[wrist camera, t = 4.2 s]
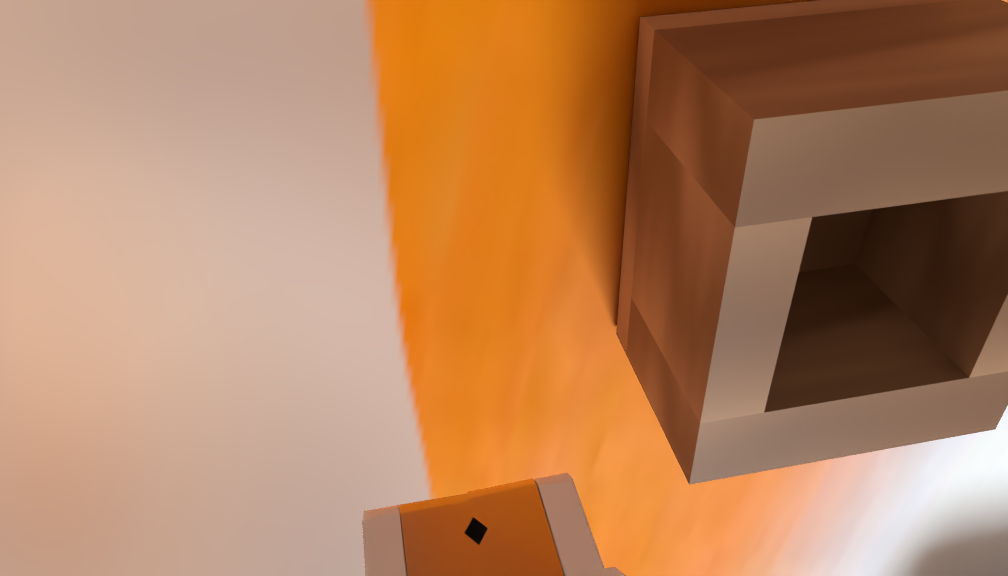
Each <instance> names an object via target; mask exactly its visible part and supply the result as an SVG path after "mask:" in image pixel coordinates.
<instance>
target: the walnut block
mask: <svg viewBox="0 0 1008 576" xmlns="http://www.w3.org/2000/svg"><path fill="white" fill-rule="evenodd" d="M616 334H617V336H618V338H619V340H620V343H621V345H622V347H623V349H624V351H625V353H626V355H627V357H628V359H629V361H630V363H631V365H632V367H633V369H634V371H635V373H636V376H637V378H638V380H639V382H640V384H641V386H642V388H643V390H644V392H645V394H646V396H647V398H648V400H649V402H650V404H651V406H652V409H653V411H654V413H655V415H656V417H657V419H658V421H659V423H660V425H661V427H662V429H663V431H664V433H665V435H666V437H667V439H668V441H669V444H670V446H671V448H672V450H673V452H674V454H675V456H676V458H677V460H678V462H679V464H680V466H681V468H682V470H683V472H684V474H685V477H686V479H687V481H688V483H689V484H695V483H700V482H706V481H711V480H717V479H722V478H728V477H733V476H739V475H745V474H750V473H756V472H761V471H767V470H772V469H778V468H783V467H789V466H794V465H800V464H805V463H811V462H816V461H822V460H828V459H833V458H839V457H844V456H850V455H855V454H861V453H866V452H872V451H877V450H883V449H888V448H894V447H900V446H905V445H911V444H916V443H922V442H927V441H933V440H938V439H944V438H949V437H955V436H960V435H966V434H972V433H977V432H983V431H988V430H994V429H996V427H997V425H998V423H999V421H1000V419H1001V417H1002V415H1003V413H1004V411H1005V409H1006V407H1007V405H1008V3H1007V2H1004V1H1002V0H817V1H806V2H795V3H785V4H774V5H763V6H753V7H742V8H731V9H721V10H710V11H699V12H689V13H678V14H667V15H657V16H646V17H640V23H639V36H638V50H637V63H636V77H635V90H634V104H633V117H632V131H631V144H630V157H629V171H628V184H627V198H626V211H625V225H624V238H623V251H622V265H621V278H620V292H619V305H618V319H617V332H616Z"/></svg>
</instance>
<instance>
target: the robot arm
mask: <svg viewBox="0 0 1008 576" xmlns="http://www.w3.org/2000/svg"><path fill="white" fill-rule="evenodd" d="M362 524H363V539H364V558H365V574H366V576H625V575H624V574H623V573H622V572H620V571H619V570H618V569H617V568H615V567H611V568H605V569H604V566H603V563H602V560H601V557H600V555H599V552H598V549H597V546H596V543H595V541H594V538H593V535H592V532H591V529H590V527H589V524H588V521H587V518H586V515H585V513H584V510H583V507H582V504H581V501H580V499H579V496H578V493H577V490H576V487H575V485H574V482H573V479H572V477H571V476H570V475H569V474H568V473H563V474H558V475H553V476H548V477H543V478H538V479H535V480H533V479H529V480H524V481H519V482H514V483H509V484H504V485H499V486H495V487H490V488H485V489H480V490H475V491H470V492H467V494H462V495H456V496H450V497H444V498H438V499H431V500H425V501H420V502H413V503H408V504H401V505H400V506H399V505H396V506H390V507H385V508H379V509H374V510H369V511H364V514H363V522H362Z"/></svg>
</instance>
